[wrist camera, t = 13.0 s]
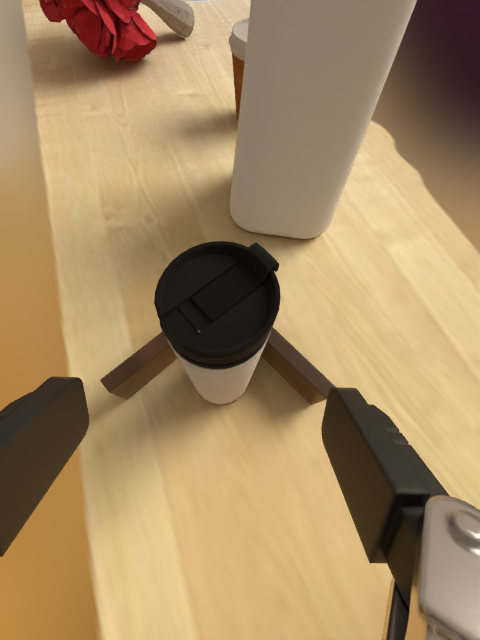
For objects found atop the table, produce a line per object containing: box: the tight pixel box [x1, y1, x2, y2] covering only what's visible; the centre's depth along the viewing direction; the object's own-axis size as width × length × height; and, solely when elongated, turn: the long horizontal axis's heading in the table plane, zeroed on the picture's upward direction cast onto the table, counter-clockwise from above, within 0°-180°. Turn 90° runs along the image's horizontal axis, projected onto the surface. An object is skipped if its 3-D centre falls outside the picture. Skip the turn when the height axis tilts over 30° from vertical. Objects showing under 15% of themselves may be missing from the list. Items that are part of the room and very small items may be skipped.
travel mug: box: [154, 241, 280, 405], centre depth 22 cm, size 6×7×20 cm
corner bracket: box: [100, 327, 335, 405], centre depth 28 cm, size 16×16×5 cm
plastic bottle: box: [229, 0, 417, 239], centre depth 29 cm, size 15×15×28 cm
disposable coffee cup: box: [229, 18, 249, 120], centre depth 45 cm, size 10×10×12 cm
